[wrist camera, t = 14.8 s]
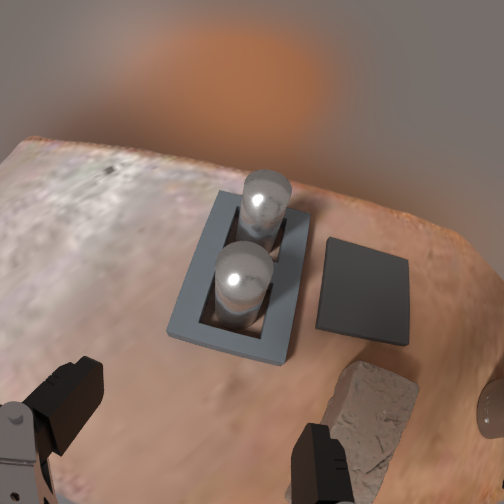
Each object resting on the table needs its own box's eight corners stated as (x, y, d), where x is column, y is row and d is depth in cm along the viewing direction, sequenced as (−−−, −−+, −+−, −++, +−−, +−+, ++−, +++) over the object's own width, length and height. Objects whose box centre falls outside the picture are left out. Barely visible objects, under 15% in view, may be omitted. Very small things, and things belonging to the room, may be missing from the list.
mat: (404, 263, 38) (408, 260, 37) (404, 346, 32) (408, 344, 31) (326, 240, 38) (329, 236, 38) (315, 328, 32) (317, 325, 31)
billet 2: (261, 296, 33) (278, 248, 25) (252, 334, 31) (267, 298, 23) (221, 286, 34) (224, 235, 25) (210, 323, 31) (208, 283, 23)
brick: (346, 515, 21) (365, 526, 17) (278, 497, 22) (289, 509, 18) (399, 388, 30) (422, 381, 26) (341, 364, 31) (360, 354, 27)
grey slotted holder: (306, 223, 40) (310, 213, 38) (280, 366, 30) (284, 362, 28) (218, 200, 40) (219, 190, 38) (168, 336, 30) (166, 330, 28)
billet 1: (275, 231, 38) (293, 175, 30) (269, 262, 36) (289, 209, 27) (239, 223, 38) (249, 165, 30) (231, 253, 36) (239, 198, 27)
